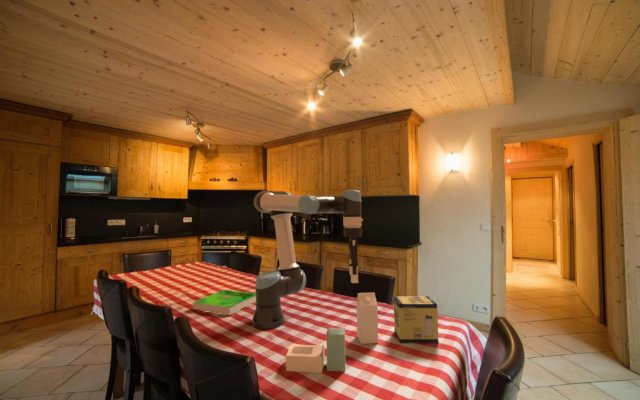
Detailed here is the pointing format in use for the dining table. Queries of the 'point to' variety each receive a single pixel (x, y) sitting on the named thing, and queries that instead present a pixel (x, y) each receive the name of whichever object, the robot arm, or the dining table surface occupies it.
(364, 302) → the milk carton
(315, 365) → the block
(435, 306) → the protein box
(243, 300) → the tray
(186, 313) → the dining table surface
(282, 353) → the dining table surface
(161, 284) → the dining table surface
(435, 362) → the dining table surface
